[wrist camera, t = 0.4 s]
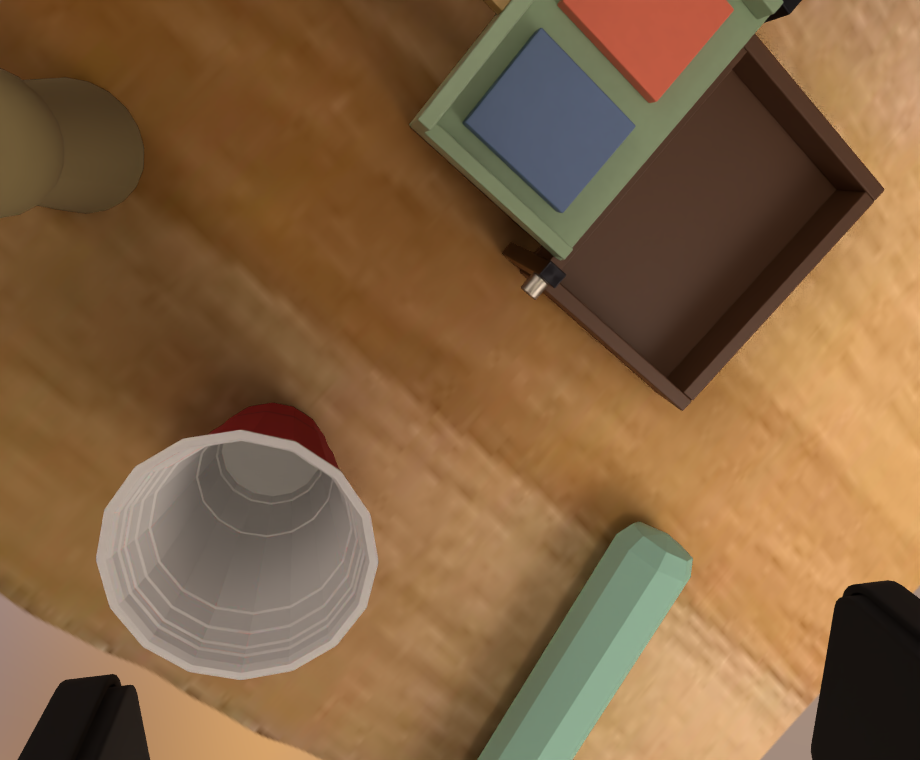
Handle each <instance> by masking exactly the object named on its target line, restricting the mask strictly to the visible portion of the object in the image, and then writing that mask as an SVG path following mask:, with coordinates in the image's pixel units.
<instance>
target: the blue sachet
mask: <svg viewBox="0 0 920 760" xmlns="http://www.w3.org/2000/svg"><path fill="white" fill-rule="evenodd" d="M463 125H464V126H465V127H467V128H468V129H469V130H470V131H471V132H472V133H473V134H474V135H475V136H476V137H477V138H478V139H479V140H480V141H481V142H483V143H484V144H485V145H486V146H487V147H488V148H489V149H490V150H491V151H492V152H493V153H494V154H495V155H496V156H497V157H499V158H500V159H501V160H502V161H503V162H504V163H505V164H506V165H507V166H508V167H509V168H510V169H511V170H512V171H514V172H515V173H516V174H517V175H518V176H519V177H520V178H521V179H522V180H523V181H524V182H525V183H526V184H527V185H528V186H530V187H531V188H532V189H533V190H534V191H535V192H536V193H537V194H538V195H539V196H540V197H541V198H542V199H543V200H544V201H546V202H547V203H548V204H549V205H550V206H551V207H552V208H553V209H554V210H555V211H556V212H559V213H564V211H565V210H566V209H567V208H568V207H569V205H570V204H571V203H572V202H573V201H574V200H575V198H576V197H577V196H578V195H579V194H580V192H581V191H582V190H583V189H584V188H585V186H586V185H587V184H588V183H589V182H590V181H591V179H592V178H593V177H594V176H595V175H596V173H597V172H598V171H599V170H600V169H601V167H602V166H603V165H604V164H605V163H606V162H607V160H608V159H609V158H610V157H611V156H612V154H613V153H614V152H615V151H616V150H617V148H618V147H619V146H620V145H621V144H622V143H623V141H624V140H625V139H626V138H627V137H628V135H629V134H630V133H631V132H632V131H633V129H634V128H635V127H636V126H635V124H634V123H633V122H632V121H631V120H630V119H629V118H628V117H627V116H626V115H625V114H624V113H623V112H622V111H621V110H620V109H619V108H618V106H617V105H616V104H615V103H614V102H613V101H612V100H611V99H610V98H609V97H608V96H607V95H606V94H605V93H604V92H603V91H602V90H601V89H600V88H599V87H598V86H597V85H596V84H595V82H594V81H593V80H592V79H591V78H590V77H589V76H588V75H587V74H586V73H585V72H584V71H583V70H582V69H581V68H580V67H579V66H578V65H577V64H576V63H575V62H574V61H573V60H572V59H571V57H570V56H569V55H568V54H567V53H566V52H565V51H564V50H563V49H562V48H561V47H560V46H559V45H558V44H557V43H556V42H555V41H554V40H553V39H552V38H551V37H550V36H549V35H548V33H547V32H546V31H545V30H544V29H543V28H539V29H538V30H536V31H535V32H534V34H533V35H532V36H531V37H530V39H529V40H528V41H527V42H526V44H525V45H524V46H523V47H522V49H521V50H520V51H519V52H518V54H517V55H516V56H515V57H514V58H513V60H512V61H511V62H510V63H509V65H508V66H507V67H506V68H505V70H504V71H503V72H502V73H501V75H500V76H499V77H498V78H497V80H496V81H495V82H494V83H493V85H492V86H491V87H490V88H489V90H488V91H487V92H486V93H485V95H484V96H483V97H482V98H481V100H480V101H479V102H478V103H477V105H476V106H475V107H474V108H473V110H472V111H471V112H470V113H469V115H468V116H467V117H466V118H465V120H464V121H463Z"/></svg>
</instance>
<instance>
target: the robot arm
mask: <svg viewBox="0 0 920 760" xmlns="http://www.w3.org/2000/svg"><path fill="white" fill-rule="evenodd" d="M811 754H812V760H920V599H919V598H918V597H917V596H915V595H914V594H913V593H911V592H910V591H909V590H907V589H906V588H905V587H903V586H902V585H900V584H898V583H897V582H895V581H888V580H887V581H879V582H871V583H862V584H854V585H851V586H848V588H847V589H846V590H845V591H844V594H843V597H841V598H839V599H838V600H837V601H836V604H835V607H834V613H833V619H832V625H831V631H830V637H829V643H828V649H827V655H826V661H825V667H824V673H823V678H822V684H821V690H820V696H819V703H818V708H817V714H816V721H815V726H814V732H813V738H812V744H811ZM18 760H150V757H149V752H148V747H147V741H146V736H145V732H144V727H143V721H142V716H141V711H140V706H139V701H138V695H137V692H136V689H135V687H134V686H133V685H125V686H121V683H120V680H119V678H118V677H117V675H114V674H110V675H102V676H94V677H86V678H77V679H69V680H65V681H63V682H62V683H60V684H59V686H58V688H57V689H56V690H55V692H54V694H53V696H52V698H51V699H50V701H49V703H48V705H47V707H46V709H45V710H44V712H43V714H42V716H41V718H40V720H39V721H38V723H37V725H36V727H35V729H34V731H33V732H32V734H31V736H30V738H29V740H28V742H27V744H26V745H25V747H24V749H23V751H22V753H21V754H20V756H19V758H18Z"/></svg>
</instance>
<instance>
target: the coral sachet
mask: <svg viewBox="0 0 920 760" xmlns="http://www.w3.org/2000/svg"><path fill="white" fill-rule="evenodd" d="M557 5H558V7H559V8H560V9H561V10H562V11H563V12H564V13H565V14H566V15H567V16H568V17H569V19H570V20H571V21H572V22H573V23H574V24H575V25H576V26H577V27H578V28H579V29H580V30H581V31H582V32H583V33H584V35H585V36H586V37H587V38H588V39H589V40H590V41H591V42H592V43H593V44H594V45H595V46H596V47H597V48H598V49H599V51H600V52H601V53H602V54H603V55H604V56H605V57H606V58H607V59H608V60H609V61H610V62H611V63H612V64H613V65H614V67H615V68H616V69H617V70H618V71H619V72H620V73H621V74H622V75H623V76H624V77H625V78H626V79H627V80H628V81H629V83H630V84H631V85H632V86H633V87H634V88H635V89H636V90H637V91H638V92H639V93H640V94H641V95H642V96H643V97H644V99H645V100H646V101H647V102H648V103H653V102H657V101H658V100H659V99H660V98H661V96H662V95H663V94H664V93H665V92H666V90H667V89H668V88H669V87H670V86H671V84H672V83H673V82H674V81H675V80H676V79H677V77H678V76H679V75H680V74H681V73H682V71H683V70H684V69H685V68H686V67H687V65H688V64H689V63H690V62H691V61H692V60H693V58H694V57H695V56H696V55H697V54H698V52H699V51H700V50H701V49H702V48H703V47H704V45H705V44H706V43H707V42H708V41H709V39H710V38H711V37H712V36H713V35H714V33H715V32H716V31H717V30H718V29H719V28H720V26H721V25H722V24H723V23H724V22H725V20H726V19H727V18H728V17H729V16H730V14H731V13H732V12H733V11H734V9H733V8H732V6H731V5H730V4H729V3H728V2H727V0H560V1H559V2H558V4H557Z"/></svg>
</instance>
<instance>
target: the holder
mask: <svg viewBox="0 0 920 760" xmlns="http://www.w3.org/2000/svg"><path fill="white" fill-rule="evenodd" d="M883 191H884V188H883V187H882V186H881V184H880V183H879V182H878V181H877V180H876V178H875V177H874V176H873V175H872V174H871V172H870V171H869V170H868V169H867V168H866V166H865V165H864V164H863V163H862V162H861V160H860V159H859V158H858V157H857V156H856V154H855V153H854V152H853V151H852V150H851V148H850V147H849V146H848V145H847V144H846V142H845V141H844V140H843V139H842V138H841V136H840V135H839V134H838V133H837V132H836V130H835V129H834V128H833V127H832V126H831V124H830V123H829V122H828V121H827V120H826V118H825V117H824V116H823V115H822V114H821V112H820V111H819V110H818V109H817V108H816V106H815V105H814V104H813V103H812V102H811V100H810V99H809V98H808V97H807V96H806V94H805V93H804V92H803V91H802V90H801V88H800V87H799V86H798V85H797V84H796V82H795V81H794V80H793V79H792V78H791V76H790V75H789V74H788V73H787V72H786V70H785V69H784V68H783V67H782V65H781V64H780V63H779V62H778V61H777V59H776V58H775V57H774V56H773V55H772V53H771V52H770V51H769V50H768V49H767V47H766V46H765V45H764V44H763V43H762V41H761V40H760V39H759V38H758V37H757V35H756V34H754V35H753V36H752V37H751V38H750V39H749V41H748V42H747V43H746V44H745V45H744V47H743V48H742V49H741V50H740V51H739V52H738V54H737V55H736V56H735V57H734V58H733V59H732V61H731V62H730V63H729V64H728V65H727V66H726V68H725V69H724V70H723V71H722V72H721V74H720V75H719V76H718V77H717V78H716V79H715V81H714V82H713V83H712V84H711V85H710V86H709V88H708V89H707V90H706V91H705V92H704V93H703V95H702V96H701V97H700V98H699V99H698V101H697V102H696V103H695V104H694V105H693V106H692V108H691V109H690V110H689V111H688V112H687V113H686V115H685V116H684V117H683V118H682V119H681V120H680V122H679V123H678V124H677V125H676V126H675V128H674V129H673V130H672V131H671V132H670V133H669V135H668V136H667V137H666V138H665V139H664V140H663V142H662V143H661V144H660V145H659V146H658V147H657V149H656V150H655V151H654V152H653V153H652V155H651V156H650V157H649V158H648V159H647V160H646V162H645V163H644V164H643V165H642V166H641V167H640V169H639V170H638V171H637V172H636V173H635V175H634V176H633V177H632V178H631V179H630V180H629V182H628V183H627V184H626V185H625V186H624V187H623V189H622V190H621V191H620V192H619V193H618V194H617V196H616V197H615V198H614V199H613V200H612V202H611V203H610V204H609V205H608V206H607V207H606V209H605V210H604V211H603V212H602V213H601V214H600V216H599V217H598V218H597V219H596V220H595V221H594V223H593V224H592V225H591V226H590V227H589V229H588V230H587V231H586V232H585V233H584V234H583V236H582V237H581V238H580V239H579V240H578V241H577V243H576V244H575V245H574V246H573V247H572V248H573V250H572V252H571V253H570V254H569V255H568V256H567V257H566V259H562V260H561V261H560V260H558V259H556V258H555V257H554V256H553V255H552V254H551V253H550V252H549V251H547V250H546V249H545V248H544V247H543V246H542V245H541V246H540V247H539V249H538V250H537V251H536V252H535V254H537V255H540V256H542V257H544V258H546V259H548V260H550V261H552V262H553V263H554V264H555V265H556V266H558V267H559V268H560V269H561V270H562V271H563V272H564V273H565V274H566V277H565V278H564V279H563V280H562V281H561V282H560V284H559V285H558V286H557V287H556V288H553V287H551V286H549V285H548V286H547V287H546V289H545V290H544V291H543V293H544V294H545V295H546V296H548V297H549V298H550V299H551V300H552V301H553V302H554V303H556V304H557V305H558V306H559V307H560V308H561V309H562V310H564V311H565V312H566V313H567V314H568V315H569V316H570V317H572V318H573V319H574V320H575V321H576V322H577V323H578V324H580V325H581V326H582V327H583V328H584V329H585V330H586V331H587V332H589V333H590V334H591V335H592V336H593V337H594V338H595V339H597V340H598V341H599V342H600V343H601V344H602V345H603V346H605V347H606V348H607V349H608V350H609V351H610V352H611V353H613V354H614V355H615V356H616V357H617V358H618V359H619V360H621V361H622V362H623V363H624V364H625V365H626V366H627V367H629V368H630V369H631V370H632V371H633V372H634V373H635V374H636V375H638V376H639V377H640V378H641V379H642V380H643V381H644V382H646V383H647V384H648V385H649V386H650V387H651V388H652V389H654V390H655V391H656V392H657V393H658V394H659V395H661V396H662V397H663V398H665V399H666V400H668V401H669V402H670V403H672V404H673V405H674V406H676V407H677V408H678V409H680V410H682V411H683V410H684V409H685V408H686V407H687V406H688V405H689V404H690V403H691V400H694V399H695V397H696V396H697V395H698V394H699V393H700V392H701V391H702V390H703V389H704V388H705V387H706V385H707V384H708V383H709V382H710V381H711V380H712V379H713V378H714V377H715V376H716V374H717V373H718V372H719V371H720V370H721V369H722V368H723V367H724V366H725V365H726V364H727V362H728V361H729V360H730V359H731V358H732V357H733V356H734V355H735V354H736V353H737V351H738V350H739V349H740V348H741V347H742V346H743V345H744V344H745V343H746V342H747V341H748V339H749V338H750V337H751V336H752V335H753V334H754V333H755V332H756V331H757V330H758V328H759V327H760V326H761V325H762V324H763V323H764V322H765V321H766V320H767V319H768V318H769V316H770V315H771V314H772V313H773V312H774V311H775V310H776V309H777V308H778V307H779V305H780V304H781V303H782V302H783V301H784V300H785V299H786V298H787V297H788V296H789V295H790V293H791V292H792V291H793V290H794V289H795V288H796V287H797V286H798V285H799V284H800V282H801V281H802V280H803V279H804V278H805V277H806V276H807V275H808V274H809V273H810V272H811V270H812V269H813V268H814V267H815V266H816V265H817V264H818V263H819V262H820V261H821V259H822V258H823V257H824V256H825V255H826V254H827V253H828V252H829V251H830V250H831V249H832V247H833V246H834V245H835V244H836V243H837V242H838V241H839V240H840V239H841V238H842V236H843V235H844V234H845V233H846V232H847V231H848V230H849V229H850V228H851V227H852V226H853V224H854V223H855V222H856V221H857V220H858V219H859V218H860V217H861V216H862V215H863V213H864V212H865V211H866V210H867V209H868V208H869V207H870V206H871V205H872V204H873V203H874V200H876V199H877V198H878V197H879V196H880V194H881V193H882V192H883ZM520 273H521V274H523V275H524V276H525V277H526V278H527V279H528V278H529V277H530V275H531V274H529V273H527V272H526V271H524V270H522V269H521V270H520Z"/></svg>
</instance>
